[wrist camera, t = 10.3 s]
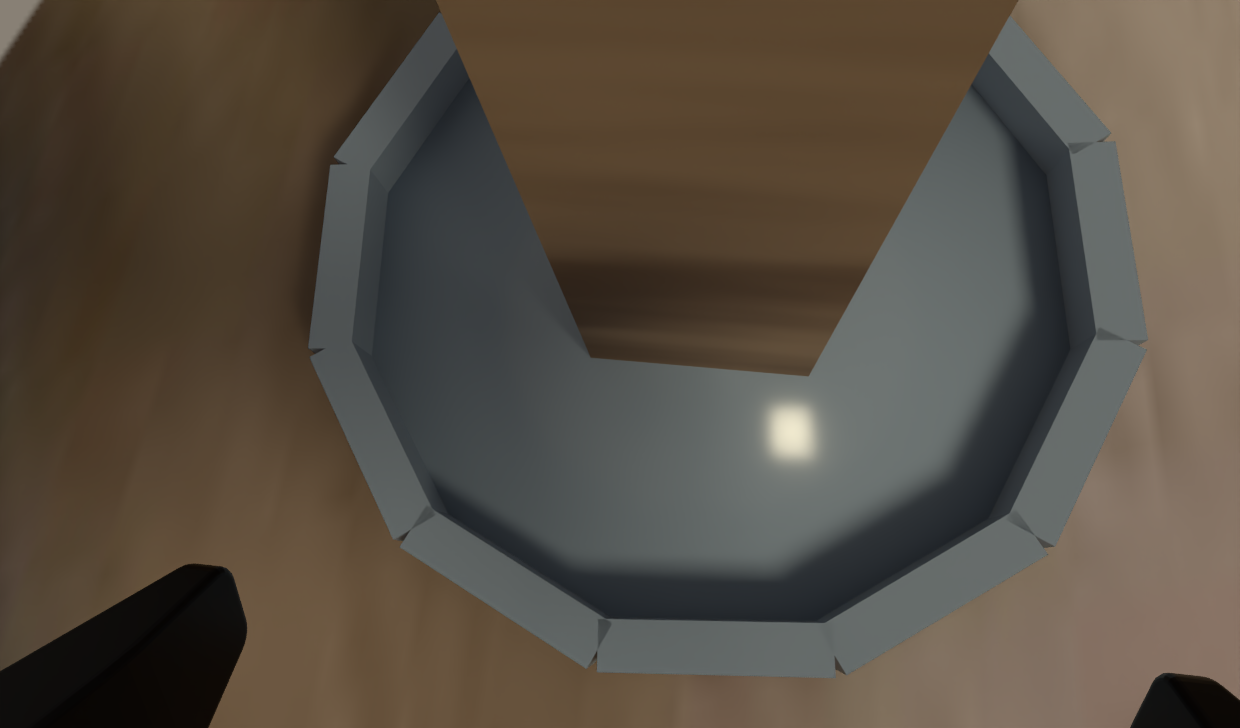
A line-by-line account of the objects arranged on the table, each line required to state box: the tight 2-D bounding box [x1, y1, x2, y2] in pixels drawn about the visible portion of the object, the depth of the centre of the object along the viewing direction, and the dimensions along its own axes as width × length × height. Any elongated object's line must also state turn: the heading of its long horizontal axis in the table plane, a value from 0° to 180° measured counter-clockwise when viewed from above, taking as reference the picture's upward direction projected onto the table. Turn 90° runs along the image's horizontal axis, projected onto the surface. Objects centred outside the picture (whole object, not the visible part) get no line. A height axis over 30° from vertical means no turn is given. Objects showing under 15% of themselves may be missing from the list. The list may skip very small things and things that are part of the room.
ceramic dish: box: [308, 13, 1148, 678], centre depth 19 cm, size 18×18×2 cm
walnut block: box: [436, 0, 1018, 376], centre depth 13 cm, size 5×5×13 cm
